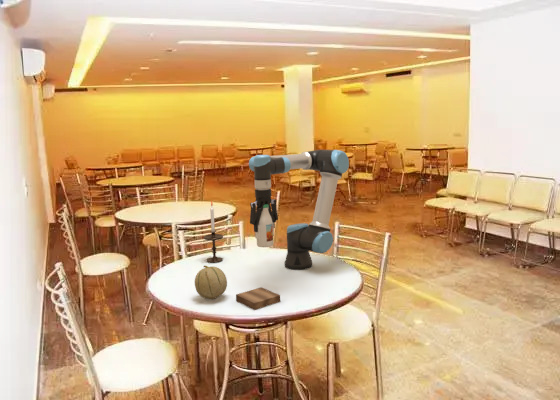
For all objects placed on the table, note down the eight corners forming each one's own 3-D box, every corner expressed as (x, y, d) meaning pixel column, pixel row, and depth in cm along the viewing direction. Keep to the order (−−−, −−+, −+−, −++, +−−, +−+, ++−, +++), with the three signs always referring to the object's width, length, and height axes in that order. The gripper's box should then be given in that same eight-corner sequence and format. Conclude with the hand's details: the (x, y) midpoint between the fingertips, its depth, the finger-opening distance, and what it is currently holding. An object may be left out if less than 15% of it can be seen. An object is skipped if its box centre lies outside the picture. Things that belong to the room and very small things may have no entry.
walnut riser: (261, 293, 228) (261, 287, 228) (280, 301, 217) (280, 295, 217) (236, 301, 220) (235, 294, 219) (254, 310, 209) (254, 303, 208)
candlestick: (208, 257, 289) (204, 199, 283) (226, 258, 287) (223, 198, 281) (202, 263, 278) (199, 202, 272) (221, 263, 277) (218, 202, 271)
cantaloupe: (222, 304, 216) (220, 271, 213) (190, 303, 219) (188, 270, 216) (231, 292, 230) (230, 261, 228) (201, 291, 233) (199, 261, 230)
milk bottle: (261, 248, 226) (259, 205, 223) (254, 245, 233) (252, 203, 230) (276, 246, 230) (274, 204, 227) (268, 242, 237) (267, 201, 233)
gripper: (249, 192, 218) (251, 242, 222) (285, 186, 230) (286, 234, 234) (240, 190, 224) (242, 239, 228) (275, 185, 236) (276, 232, 240)
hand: (264, 237), depth 231 cm, fingers closed on milk bottle, 7 cm apart
